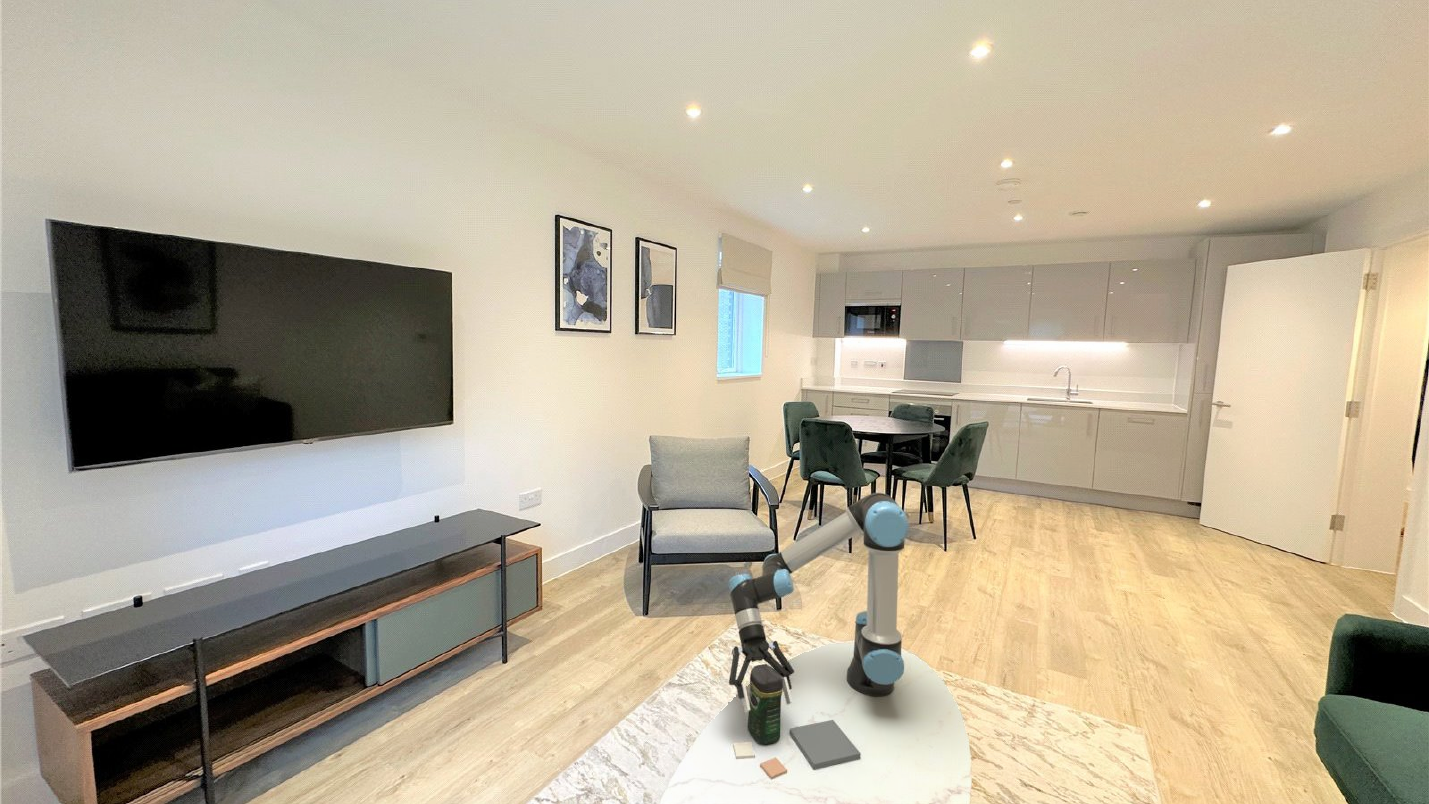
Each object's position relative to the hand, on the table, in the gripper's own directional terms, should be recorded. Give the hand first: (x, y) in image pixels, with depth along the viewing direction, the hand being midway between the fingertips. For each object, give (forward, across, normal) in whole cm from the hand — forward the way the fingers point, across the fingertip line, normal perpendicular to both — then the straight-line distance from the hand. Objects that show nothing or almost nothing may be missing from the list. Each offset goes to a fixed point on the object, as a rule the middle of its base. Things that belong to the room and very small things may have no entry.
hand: (769, 707), depth 152 cm
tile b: (+9, +8, -5) cm, 13 cm away
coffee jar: (+5, 0, -9) cm, 10 cm away
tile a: (+14, +3, 0) cm, 15 cm away
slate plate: (+11, -14, -2) cm, 18 cm away
